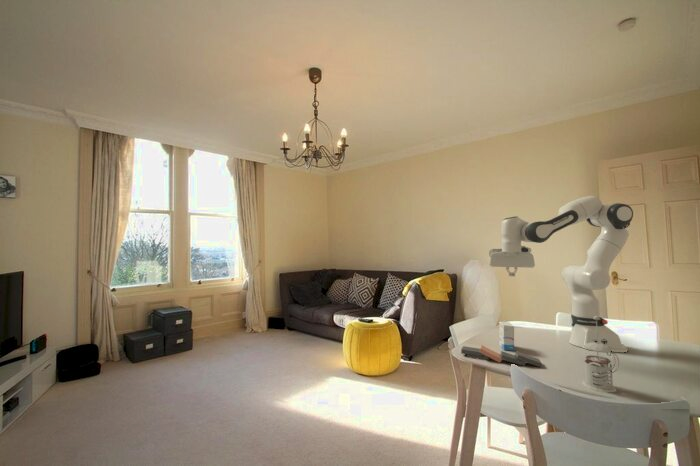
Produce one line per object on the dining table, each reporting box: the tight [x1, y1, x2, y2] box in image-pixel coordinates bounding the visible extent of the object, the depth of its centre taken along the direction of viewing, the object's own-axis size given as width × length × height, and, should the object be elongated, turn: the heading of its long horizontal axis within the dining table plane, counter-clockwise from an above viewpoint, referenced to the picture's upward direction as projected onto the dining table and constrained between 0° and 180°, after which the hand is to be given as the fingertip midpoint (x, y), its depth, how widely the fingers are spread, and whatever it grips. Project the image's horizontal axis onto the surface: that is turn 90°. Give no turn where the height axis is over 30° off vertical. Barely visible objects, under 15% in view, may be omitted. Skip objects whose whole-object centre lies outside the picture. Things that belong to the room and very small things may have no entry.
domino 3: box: [479, 344, 503, 363], centre depth 142 cm, size 2×5×9 cm
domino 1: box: [460, 345, 484, 357], centre depth 147 cm, size 2×5×9 cm
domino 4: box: [499, 351, 527, 367], centre depth 137 cm, size 2×5×9 cm
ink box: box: [498, 321, 515, 351], centre depth 157 cm, size 9×5×12 cm, turn 168°
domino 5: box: [514, 350, 543, 368], centre depth 136 cm, size 2×5×9 cm
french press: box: [581, 316, 620, 393], centre depth 115 cm, size 10×12×25 cm
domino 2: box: [466, 354, 490, 361], centre depth 145 cm, size 2×5×9 cm
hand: (512, 276), depth 162 cm, fingers closed
